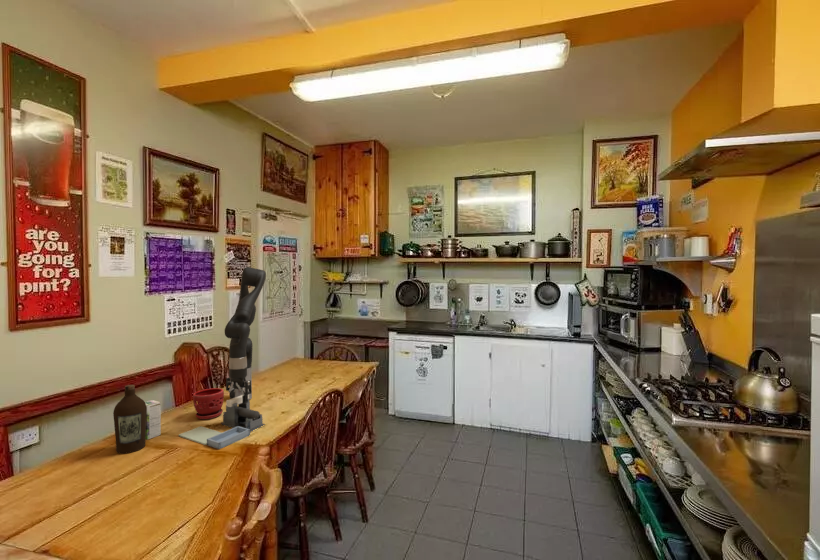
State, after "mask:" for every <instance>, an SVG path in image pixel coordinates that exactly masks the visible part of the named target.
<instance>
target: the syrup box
mask: <svg viewBox="0 0 820 560" xmlns="http://www.w3.org/2000/svg"><path fill="white" fill-rule="evenodd" d="M144 402H145V404H146V407H147V411H146V440H150V439H153V438H156V437H159V436H160V435H161V433H162V429H161V428H162V424H161V423H162V419H161V416H162V415H161V409H162V408H161V401H158V400H154V399H152V400H147V401H144Z"/></svg>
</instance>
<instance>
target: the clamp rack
mask: <svg viewBox="0 0 820 560" xmlns="http://www.w3.org/2000/svg"><path fill="white" fill-rule="evenodd" d="M250 406H251V403H250V400H249V399H248V402H247V403H245V404H243V403H240V404H238V405H237V403H234V404H232V407H228V406H226V405H225V411H223V412H222V421H221V422H220V425H221V424H222V425H221V426H224V425H225V427H227V426H228V427H227V428H231V427H232V428H235V427H237V426H240V427H243V428H247V429H250V433H252V432H254V431H253V430H255V429H257V428H259V427H261V426H263V425H265V426H266V424H265V423H264V422H263V414H261V413H260V416H259V418H258V419H257V420H254V419H252V418H246V417H242V416H238V407H242V408H246V409H250V408H251V407H250ZM250 410H251V409H250ZM263 427H264V426H263ZM232 428H231V429H232ZM261 428H262V427H261ZM259 429H260V428H259ZM257 430H258V429H257ZM251 431H252V432H251ZM255 431H256V430H255Z"/></svg>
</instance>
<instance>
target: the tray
mask: <svg viewBox="0 0 820 560" xmlns="http://www.w3.org/2000/svg"><path fill="white" fill-rule="evenodd" d="M249 435H250V436H251V432H250V429H247V428H243V427H240V426H237V427H235V428H231V429H227V430H225V431H223V432H222V433H220V434H218V435H216V436H213V437H211V438H208V439H207V445H206V446H208V447H210V448H214V449H217V450H221V449H223V448H225V447H227V446H230V445H232V444H234V443H237V442H239V441H240V440H244V439H245V438H247V437H249Z"/></svg>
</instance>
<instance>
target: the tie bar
mask: <svg viewBox="0 0 820 560" xmlns="http://www.w3.org/2000/svg"><path fill="white" fill-rule="evenodd" d="M242 396H243V395H241V396H238V397H235V398H232V399H230V398H229V399H226V401H225V403H226V404H225V407H226V406H228V407H232V404H234V403H237V406H238V404H240V403H243V398H242ZM248 399H249V395H248Z"/></svg>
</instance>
